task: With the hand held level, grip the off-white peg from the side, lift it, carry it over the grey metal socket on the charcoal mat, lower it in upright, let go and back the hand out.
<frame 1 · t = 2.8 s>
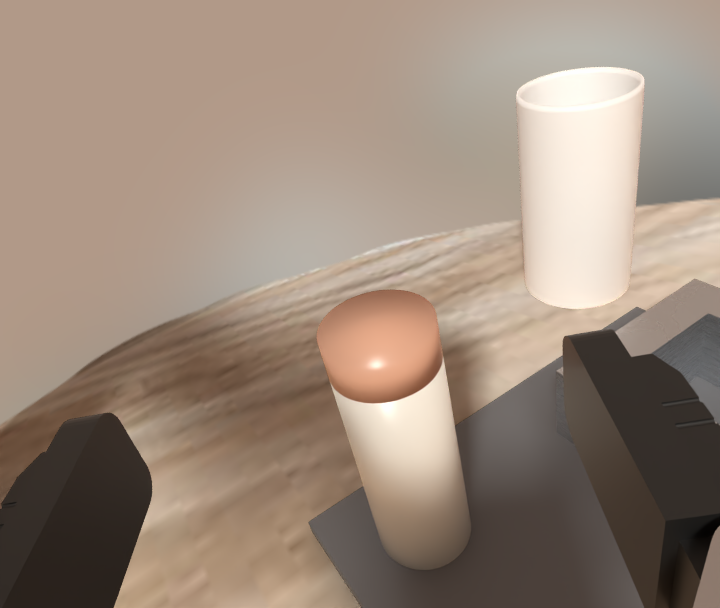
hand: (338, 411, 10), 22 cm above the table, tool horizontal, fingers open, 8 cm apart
socket: (717, 438, 33), resting on mat
mat: (599, 494, 32), on the table
peg: (424, 526, 32), point 1 cm above the table, touching mat
cup: (575, 281, 49), on the table
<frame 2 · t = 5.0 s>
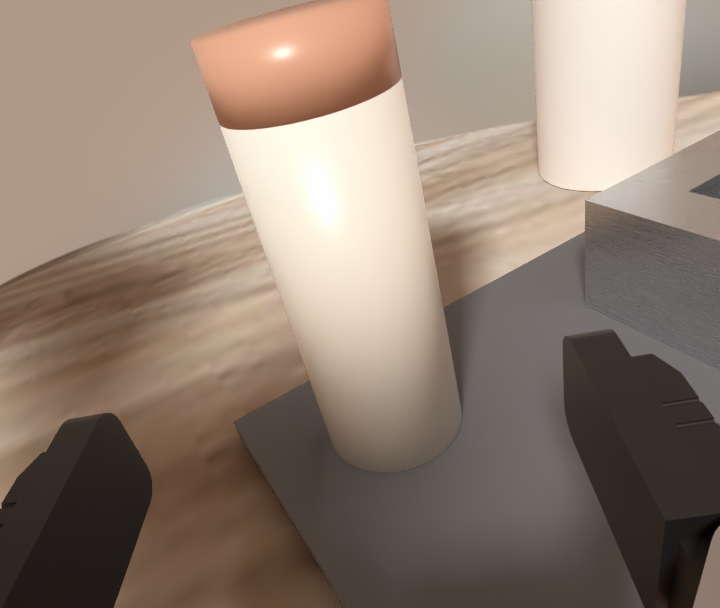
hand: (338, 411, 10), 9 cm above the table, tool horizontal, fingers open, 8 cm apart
mat: (650, 378, 22), on the table
peg: (394, 419, 22), point 1 cm above the table, touching mat
cup: (602, 168, 39), on the table
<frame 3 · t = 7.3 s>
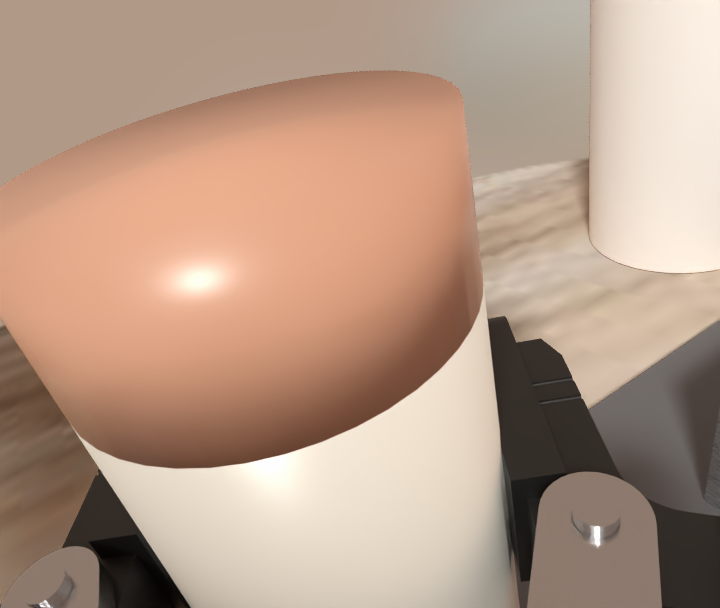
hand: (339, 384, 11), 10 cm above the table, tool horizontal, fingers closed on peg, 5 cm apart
cup: (673, 235, 30), on the table
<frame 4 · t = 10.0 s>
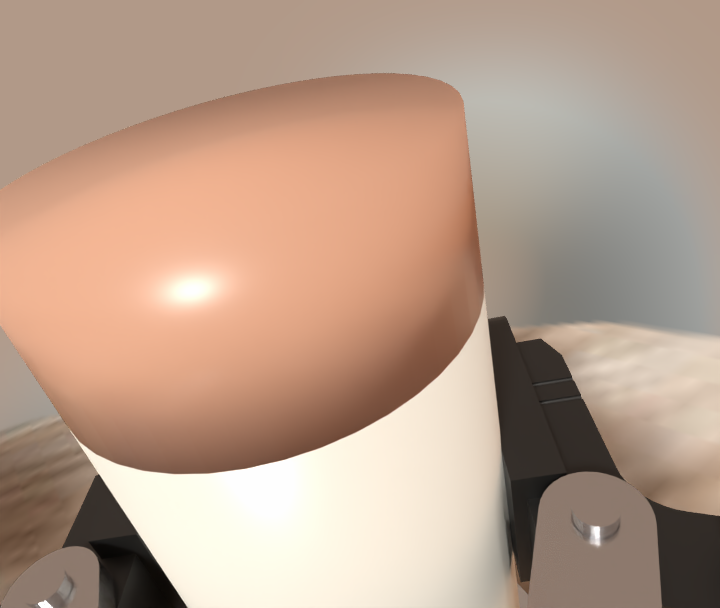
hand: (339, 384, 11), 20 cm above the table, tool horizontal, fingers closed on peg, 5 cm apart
when the fingers open (11 cm above the table, at t = 12.6 s): peg drops 1 cm, resting on mat.
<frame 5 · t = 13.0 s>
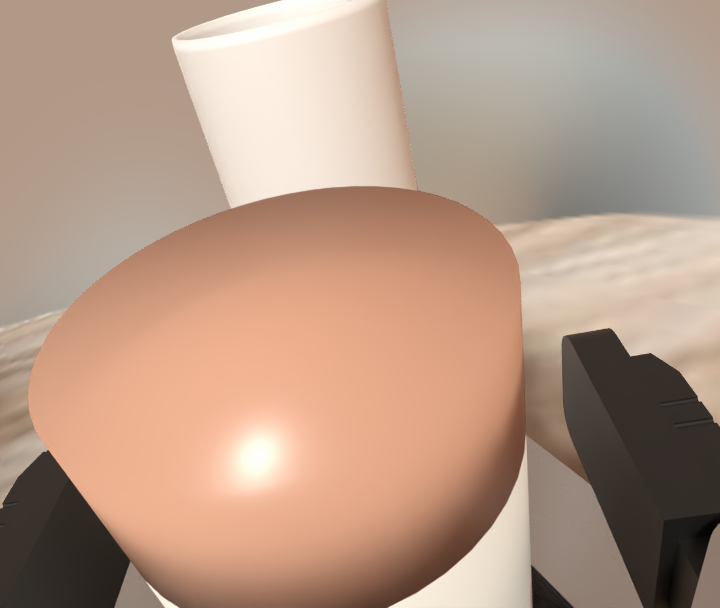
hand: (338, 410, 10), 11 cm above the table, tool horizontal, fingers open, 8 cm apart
cup: (363, 345, 31), on the table
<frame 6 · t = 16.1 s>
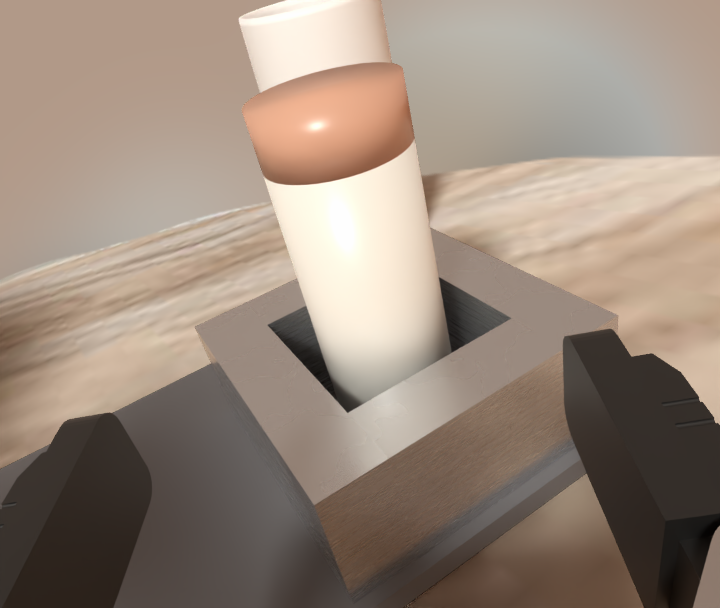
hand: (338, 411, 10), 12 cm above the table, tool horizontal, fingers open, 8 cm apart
socket: (402, 414, 25), resting on mat
mat: (248, 486, 25), on the table
peg: (403, 415, 25), point 1 cm above the table, touching mat
cup: (365, 247, 42), on the table
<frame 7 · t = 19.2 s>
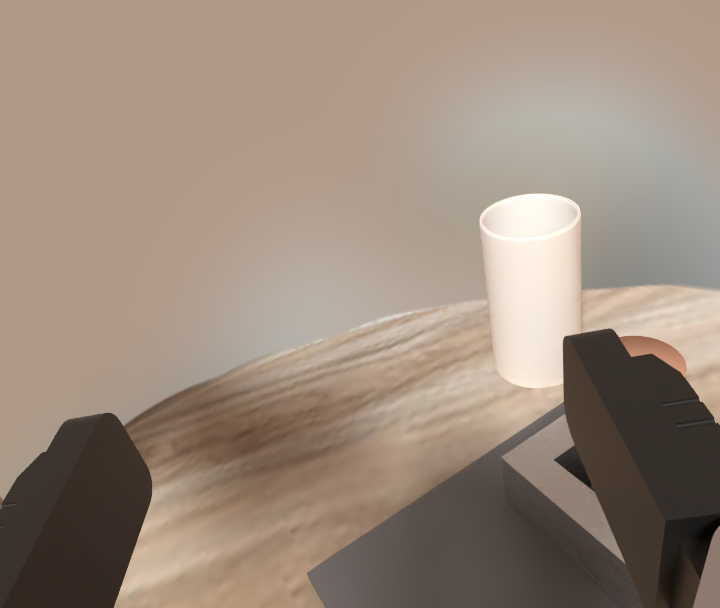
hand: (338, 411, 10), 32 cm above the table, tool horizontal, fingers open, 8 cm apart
socket: (629, 511, 41), resting on mat
mat: (535, 555, 41), on the table
peg: (629, 511, 41), point 1 cm above the table, touching mat
cup: (536, 361, 58), on the table
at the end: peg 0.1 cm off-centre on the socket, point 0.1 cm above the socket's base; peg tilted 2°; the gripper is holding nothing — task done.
